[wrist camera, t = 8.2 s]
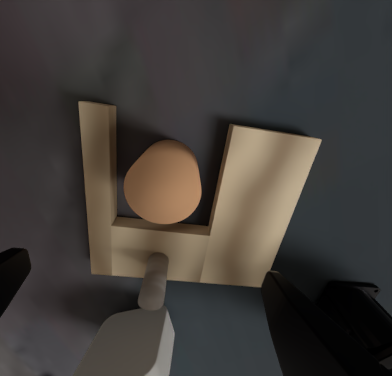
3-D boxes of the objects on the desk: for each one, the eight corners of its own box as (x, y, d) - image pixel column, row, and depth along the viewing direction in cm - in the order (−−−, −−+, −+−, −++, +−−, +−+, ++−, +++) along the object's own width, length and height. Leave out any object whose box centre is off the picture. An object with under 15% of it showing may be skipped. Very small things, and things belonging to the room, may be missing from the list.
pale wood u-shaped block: (310, 136, 17) (370, 152, 11) (258, 275, 23) (280, 330, 17) (89, 101, 15) (31, 100, 9) (98, 261, 21) (66, 318, 16)
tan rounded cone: (193, 196, 18) (195, 227, 14) (139, 190, 18) (123, 220, 13) (202, 144, 17) (207, 159, 12) (142, 135, 16) (123, 148, 12)
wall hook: (135, 365, 28) (101, 479, 18) (113, 303, 26) (62, 393, 17) (190, 355, 28) (184, 466, 18) (171, 291, 26) (153, 375, 16)
